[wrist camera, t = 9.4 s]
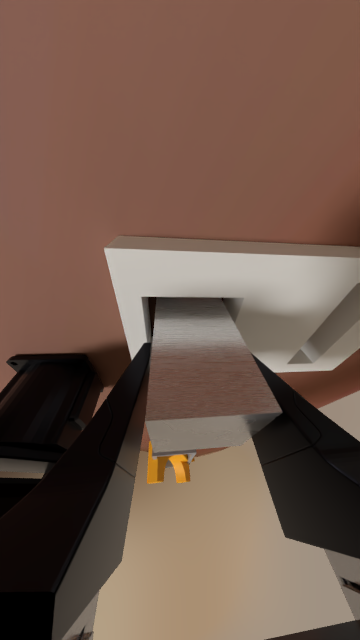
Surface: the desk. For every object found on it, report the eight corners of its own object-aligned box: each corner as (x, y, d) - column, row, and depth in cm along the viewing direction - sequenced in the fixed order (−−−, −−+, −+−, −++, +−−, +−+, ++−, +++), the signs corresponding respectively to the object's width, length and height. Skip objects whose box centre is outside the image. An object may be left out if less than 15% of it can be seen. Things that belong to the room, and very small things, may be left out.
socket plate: (140, 353, 14) (136, 377, 12) (118, 235, 8) (103, 248, 6) (312, 349, 16) (331, 370, 14) (407, 248, 10) (467, 262, 8)
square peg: (159, 329, 13) (153, 452, 7) (157, 286, 10) (145, 421, 4) (205, 328, 13) (240, 445, 7) (214, 286, 11) (282, 412, 4)
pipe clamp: (192, 444, 39) (196, 480, 35) (179, 447, 41) (181, 482, 36) (164, 437, 33) (164, 480, 28) (149, 441, 34) (146, 483, 29)
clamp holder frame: (156, 451, 42) (156, 468, 39) (153, 433, 31) (152, 456, 29) (187, 448, 43) (188, 465, 40) (193, 431, 32) (196, 452, 29)
